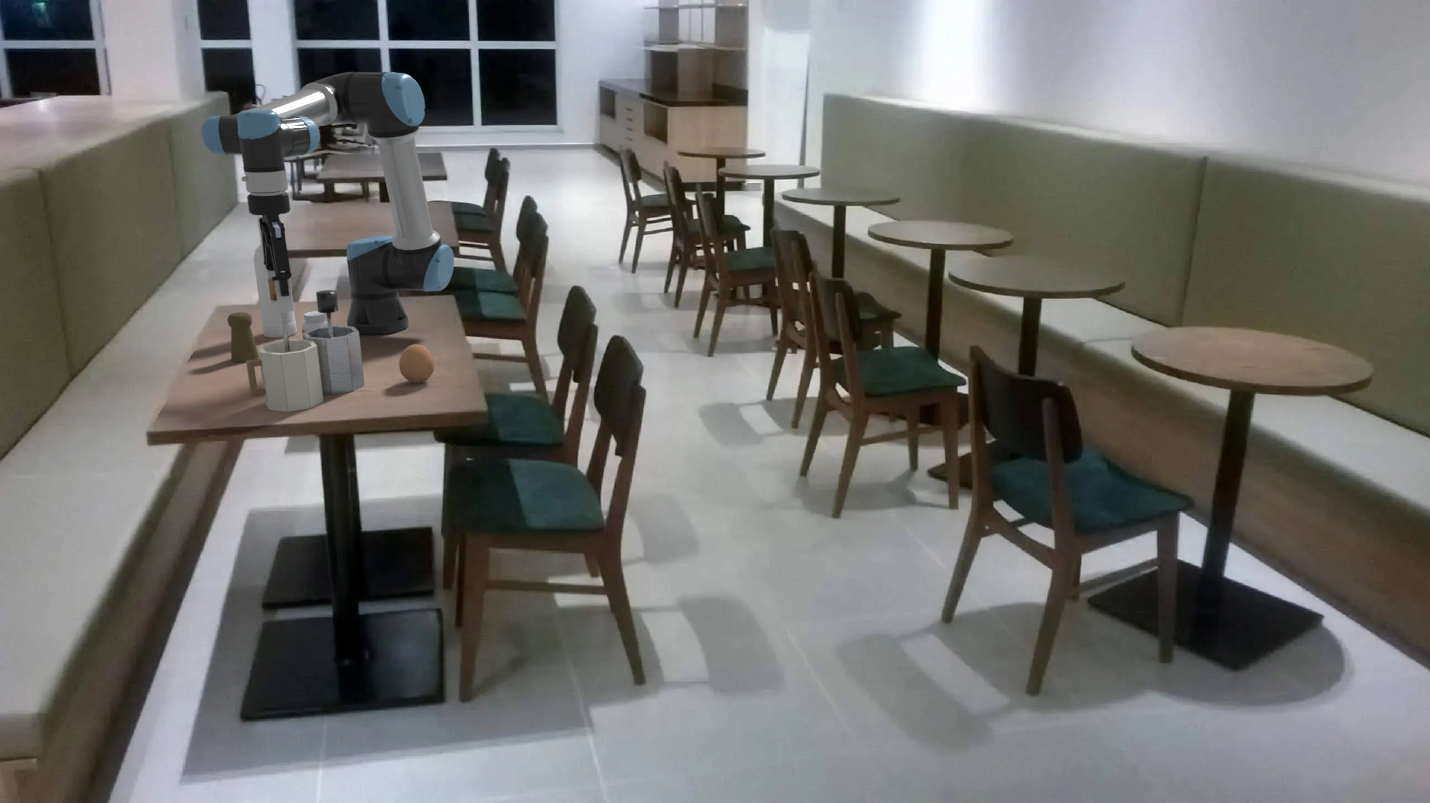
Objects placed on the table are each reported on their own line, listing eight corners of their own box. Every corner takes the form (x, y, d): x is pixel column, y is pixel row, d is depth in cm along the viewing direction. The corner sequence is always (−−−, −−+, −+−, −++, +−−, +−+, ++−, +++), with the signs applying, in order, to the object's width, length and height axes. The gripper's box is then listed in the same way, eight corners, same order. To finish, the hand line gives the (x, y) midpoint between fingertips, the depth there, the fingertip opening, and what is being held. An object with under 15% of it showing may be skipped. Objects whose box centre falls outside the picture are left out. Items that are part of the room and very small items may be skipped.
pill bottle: (301, 363, 253) (296, 316, 250) (310, 355, 259) (304, 310, 256) (329, 363, 254) (323, 316, 250) (337, 355, 259) (331, 310, 256)
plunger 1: (303, 358, 228) (293, 273, 223) (310, 366, 223) (299, 280, 217) (269, 363, 225) (257, 277, 219) (275, 371, 220) (263, 284, 214)
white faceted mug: (316, 391, 234) (309, 337, 230) (326, 405, 225) (320, 349, 221) (249, 401, 227) (241, 345, 223) (257, 416, 218) (249, 358, 215)
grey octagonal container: (356, 375, 244) (350, 323, 240) (368, 388, 235) (362, 334, 231) (293, 385, 238) (286, 331, 234) (303, 398, 229) (296, 343, 225)
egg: (406, 377, 243) (403, 340, 241) (439, 377, 243) (436, 340, 240) (396, 387, 236) (392, 349, 234) (430, 387, 236) (427, 349, 233)
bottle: (300, 335, 276) (285, 215, 267) (267, 339, 272) (251, 218, 263) (292, 328, 283) (277, 211, 273) (260, 332, 278) (244, 214, 269)
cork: (249, 363, 253) (242, 316, 250) (225, 361, 254) (218, 315, 251) (264, 356, 259) (258, 310, 255) (241, 354, 260) (235, 309, 257)
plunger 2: (348, 367, 241) (339, 287, 235) (355, 375, 235) (346, 293, 229) (315, 371, 237) (306, 290, 232) (322, 380, 232) (312, 297, 226)
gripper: (238, 187, 220) (253, 298, 227) (255, 201, 202) (271, 320, 210) (278, 185, 223) (292, 294, 231) (298, 198, 206) (312, 315, 213)
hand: (282, 306), depth 220 cm, fingers open, 8 cm apart
